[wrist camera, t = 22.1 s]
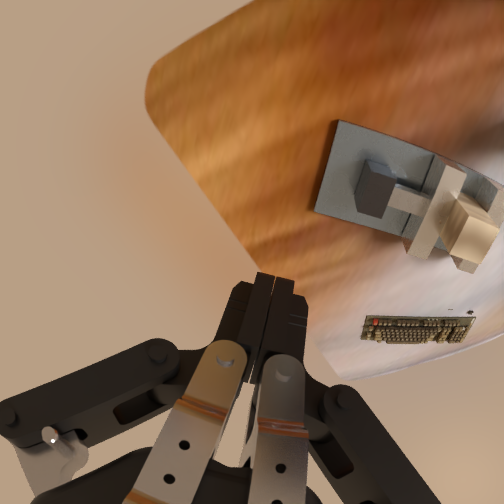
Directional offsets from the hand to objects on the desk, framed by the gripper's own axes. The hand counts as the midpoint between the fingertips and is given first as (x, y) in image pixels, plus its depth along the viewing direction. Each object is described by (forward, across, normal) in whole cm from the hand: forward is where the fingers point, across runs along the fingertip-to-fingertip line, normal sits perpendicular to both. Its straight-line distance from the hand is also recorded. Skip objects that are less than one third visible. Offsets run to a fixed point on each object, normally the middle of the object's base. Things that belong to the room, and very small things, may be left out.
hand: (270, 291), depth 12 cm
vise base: (+27, -16, +3) cm, 32 cm away
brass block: (+26, -21, +3) cm, 34 cm away
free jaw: (+26, -13, +3) cm, 29 cm away
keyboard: (+28, -28, +25) cm, 47 cm away
